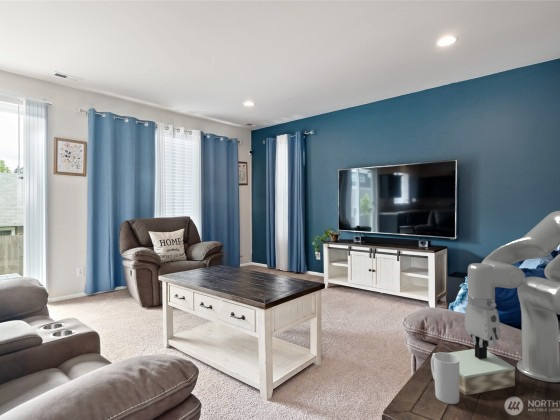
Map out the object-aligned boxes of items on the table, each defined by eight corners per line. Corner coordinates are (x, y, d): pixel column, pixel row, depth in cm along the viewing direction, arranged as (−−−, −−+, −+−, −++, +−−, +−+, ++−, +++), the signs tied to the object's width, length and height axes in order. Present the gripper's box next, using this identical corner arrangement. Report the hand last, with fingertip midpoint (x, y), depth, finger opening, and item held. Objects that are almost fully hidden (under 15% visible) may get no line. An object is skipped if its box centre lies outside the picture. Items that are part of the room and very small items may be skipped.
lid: (481, 349, 112) (482, 347, 112) (515, 369, 100) (515, 367, 100) (435, 356, 108) (435, 354, 108) (464, 378, 96) (464, 376, 96)
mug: (465, 402, 93) (464, 361, 92) (445, 406, 91) (444, 364, 91) (441, 384, 102) (440, 346, 102) (422, 387, 101) (421, 349, 101)
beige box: (481, 366, 112) (480, 352, 112) (514, 385, 100) (514, 370, 100) (436, 373, 108) (436, 359, 108) (465, 395, 96) (465, 379, 96)
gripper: (511, 308, 99) (511, 367, 99) (472, 294, 114) (472, 346, 114) (491, 309, 97) (490, 370, 98) (454, 296, 112) (454, 348, 112)
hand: (480, 357), depth 106 cm, fingers closed
